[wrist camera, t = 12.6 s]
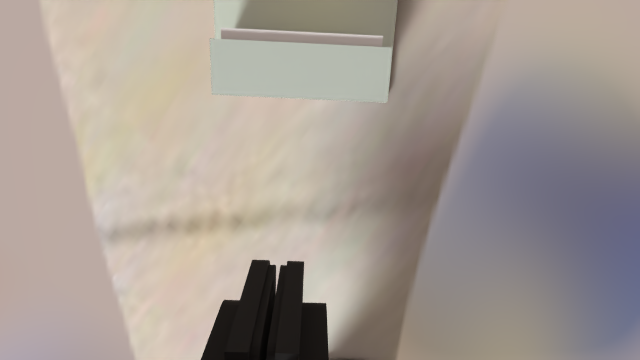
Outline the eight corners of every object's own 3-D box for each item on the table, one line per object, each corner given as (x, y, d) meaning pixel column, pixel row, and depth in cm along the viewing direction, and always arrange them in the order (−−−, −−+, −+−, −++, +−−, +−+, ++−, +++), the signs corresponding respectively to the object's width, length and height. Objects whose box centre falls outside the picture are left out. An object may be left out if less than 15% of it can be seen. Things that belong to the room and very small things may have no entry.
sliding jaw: (374, 94, 26) (386, 102, 22) (230, 87, 26) (211, 94, 21) (379, 39, 25) (393, 35, 21) (228, 32, 25) (209, 26, 20)
